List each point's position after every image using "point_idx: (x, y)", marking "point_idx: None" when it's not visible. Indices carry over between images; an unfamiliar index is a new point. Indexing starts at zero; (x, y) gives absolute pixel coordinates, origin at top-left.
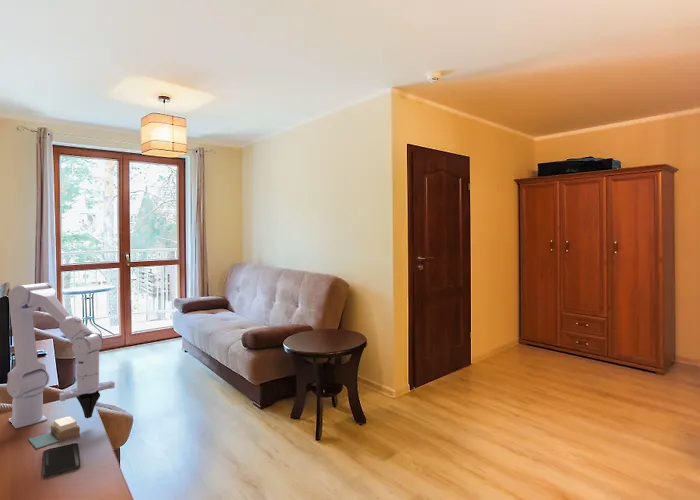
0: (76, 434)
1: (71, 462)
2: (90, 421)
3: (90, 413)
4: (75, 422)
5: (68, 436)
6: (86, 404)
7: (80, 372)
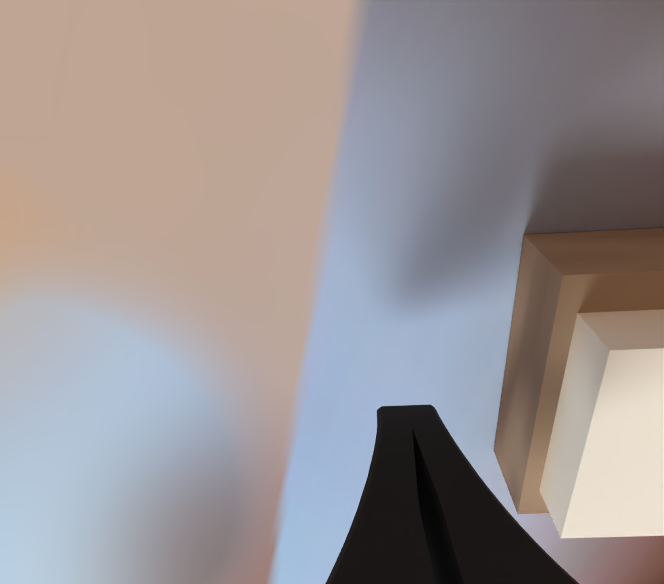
0: (564, 239)
1: None
2: (335, 453)
3: (404, 438)
4: (616, 346)
5: (645, 240)
6: (526, 577)
7: None
